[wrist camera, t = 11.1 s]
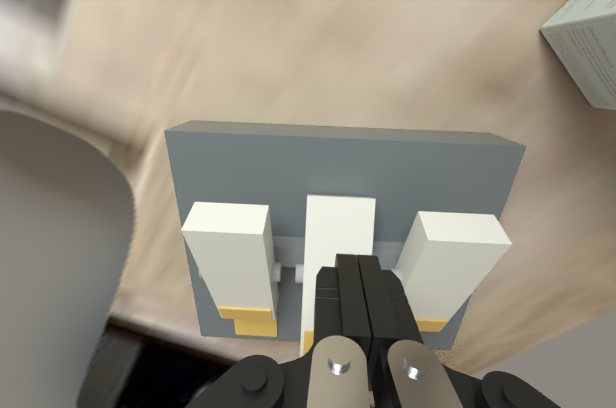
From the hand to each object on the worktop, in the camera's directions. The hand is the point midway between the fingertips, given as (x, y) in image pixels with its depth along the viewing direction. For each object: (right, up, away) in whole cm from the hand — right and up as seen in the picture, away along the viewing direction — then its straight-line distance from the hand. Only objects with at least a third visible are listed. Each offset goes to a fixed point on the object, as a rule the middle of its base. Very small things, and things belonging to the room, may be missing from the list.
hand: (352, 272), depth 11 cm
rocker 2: (+6, -2, +7) cm, 9 cm away
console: (0, 0, +14) cm, 14 cm away
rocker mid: (0, -2, +7) cm, 7 cm away
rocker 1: (-6, -2, +7) cm, 9 cm away
